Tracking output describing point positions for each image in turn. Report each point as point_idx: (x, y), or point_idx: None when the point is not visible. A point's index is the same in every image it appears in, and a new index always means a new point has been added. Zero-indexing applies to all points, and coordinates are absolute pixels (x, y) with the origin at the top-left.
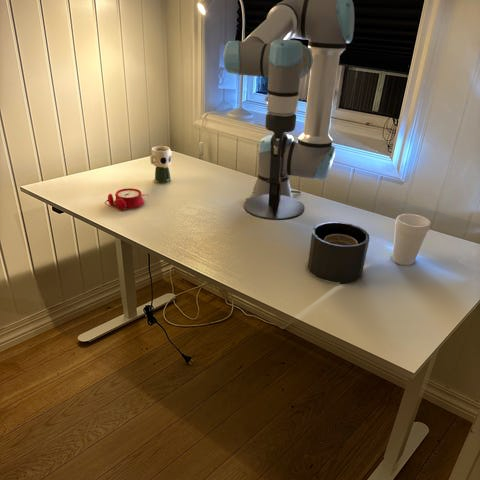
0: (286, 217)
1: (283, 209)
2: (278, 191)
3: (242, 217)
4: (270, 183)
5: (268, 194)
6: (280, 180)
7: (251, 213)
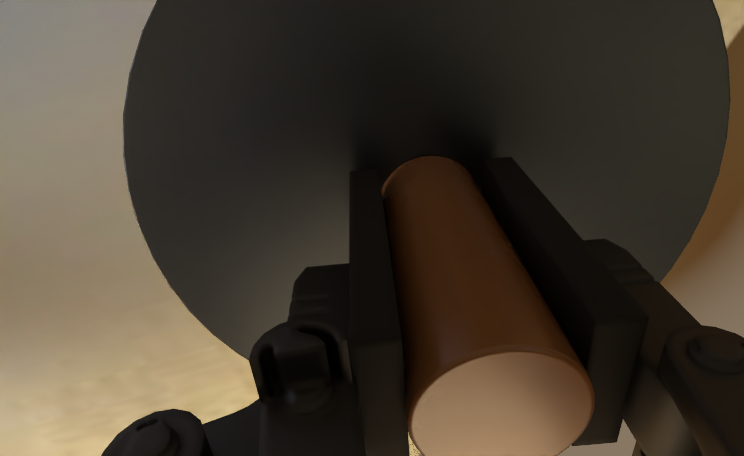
0: (709, 17)
1: (501, 94)
2: (581, 251)
3: (15, 299)
4: (610, 423)
5: (186, 299)
6: (545, 346)
7: None
